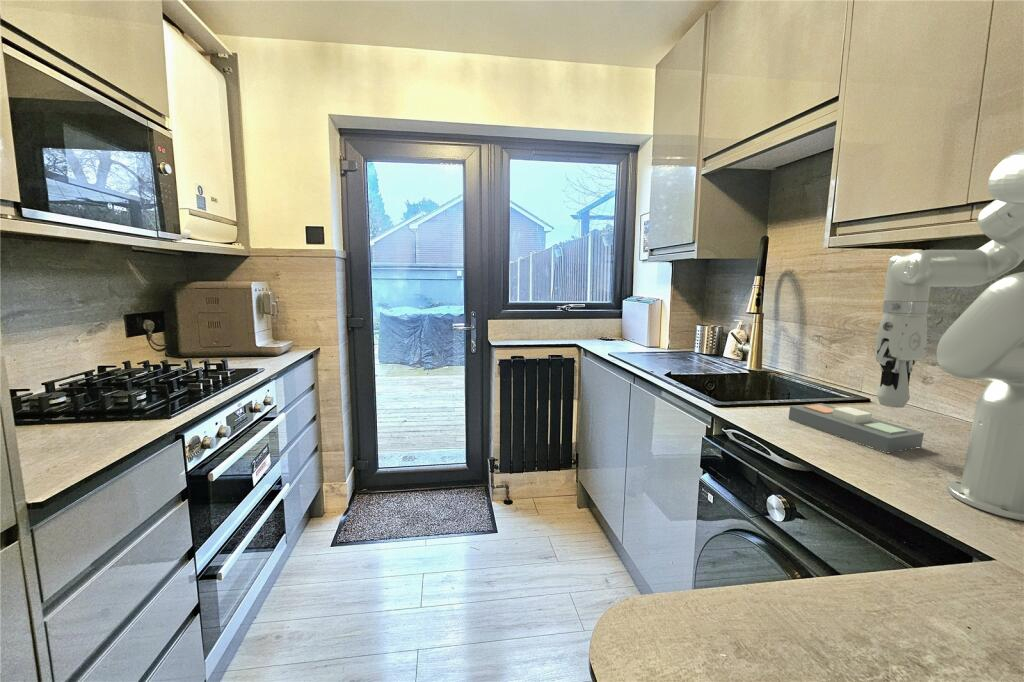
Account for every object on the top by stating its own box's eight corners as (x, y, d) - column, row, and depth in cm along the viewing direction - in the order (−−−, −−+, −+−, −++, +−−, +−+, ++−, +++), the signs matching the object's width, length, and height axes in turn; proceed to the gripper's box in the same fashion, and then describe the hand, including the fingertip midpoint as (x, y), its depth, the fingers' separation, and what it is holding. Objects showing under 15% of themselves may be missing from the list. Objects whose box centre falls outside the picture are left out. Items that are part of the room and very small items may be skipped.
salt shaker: (909, 410, 96) (917, 353, 94) (876, 405, 99) (883, 350, 98) (906, 405, 100) (913, 350, 99) (874, 401, 104) (881, 348, 102)
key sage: (903, 444, 100) (906, 430, 100) (887, 447, 99) (890, 432, 98) (877, 436, 106) (879, 422, 105) (861, 438, 104) (863, 424, 103)
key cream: (869, 427, 107) (871, 413, 106) (854, 429, 105) (856, 415, 105) (846, 420, 112) (848, 406, 112) (831, 422, 111) (833, 408, 110)
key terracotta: (838, 423, 114) (840, 410, 114) (823, 425, 113) (824, 412, 112) (817, 417, 120) (819, 404, 119) (802, 418, 118) (804, 406, 117)
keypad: (921, 447, 100) (923, 433, 99) (886, 453, 96) (889, 438, 95) (819, 415, 122) (821, 403, 122) (788, 418, 118) (790, 406, 118)
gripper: (899, 309, 91) (888, 394, 93) (947, 310, 96) (936, 390, 98) (861, 308, 98) (852, 386, 100) (908, 308, 103) (898, 383, 105)
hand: (894, 387), depth 99 cm, fingers closed on salt shaker, 3 cm apart
